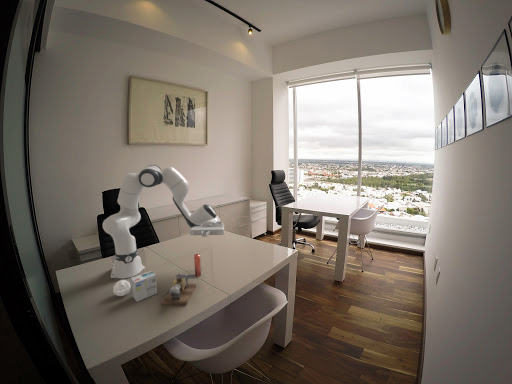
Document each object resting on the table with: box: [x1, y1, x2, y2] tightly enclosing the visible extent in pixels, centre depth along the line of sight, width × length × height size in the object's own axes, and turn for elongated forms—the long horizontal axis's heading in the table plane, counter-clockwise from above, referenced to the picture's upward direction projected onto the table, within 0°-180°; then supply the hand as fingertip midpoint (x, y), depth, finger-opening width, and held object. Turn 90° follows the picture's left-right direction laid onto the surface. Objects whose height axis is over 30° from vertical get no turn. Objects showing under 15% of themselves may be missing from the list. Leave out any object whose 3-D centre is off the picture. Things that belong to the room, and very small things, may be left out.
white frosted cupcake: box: [112, 279, 132, 297], centre depth 120 cm, size 8×8×8 cm
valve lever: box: [175, 253, 202, 280], centre depth 117 cm, size 3×13×13 cm, turn 88°
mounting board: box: [161, 283, 197, 306], centre depth 119 cm, size 16×12×2 cm
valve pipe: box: [168, 272, 189, 300], centre depth 118 cm, size 14×5×7 cm, turn 178°
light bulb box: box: [130, 270, 158, 303], centre depth 119 cm, size 11×7×11 cm, turn 134°
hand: (204, 235), depth 128 cm, fingers closed
